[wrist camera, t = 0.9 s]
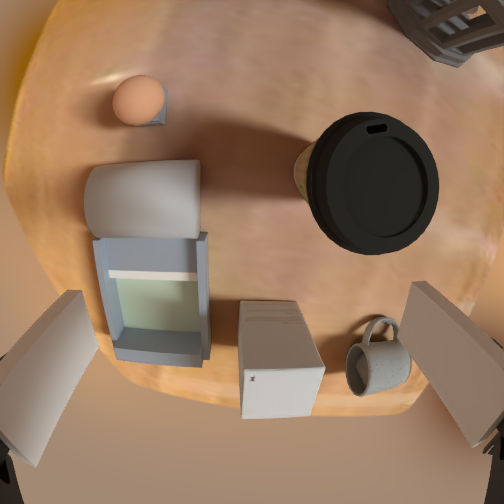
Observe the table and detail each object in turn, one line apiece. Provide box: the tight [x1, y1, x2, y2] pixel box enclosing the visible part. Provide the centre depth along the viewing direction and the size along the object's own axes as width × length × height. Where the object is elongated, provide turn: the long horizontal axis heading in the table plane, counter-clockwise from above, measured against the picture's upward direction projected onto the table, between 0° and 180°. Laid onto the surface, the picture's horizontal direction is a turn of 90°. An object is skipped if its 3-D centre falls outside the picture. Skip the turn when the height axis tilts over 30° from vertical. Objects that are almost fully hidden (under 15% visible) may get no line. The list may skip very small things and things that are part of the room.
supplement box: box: [238, 301, 326, 419], centre depth 29 cm, size 7×7×13 cm
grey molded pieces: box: [83, 86, 211, 368], centre depth 28 cm, size 31×13×8 cm, turn 178°
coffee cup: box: [293, 112, 439, 255], centre depth 22 cm, size 10×10×15 cm
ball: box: [112, 75, 165, 125], centre depth 21 cm, size 5×5×5 cm
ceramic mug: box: [345, 317, 412, 397], centre depth 34 cm, size 11×8×8 cm
